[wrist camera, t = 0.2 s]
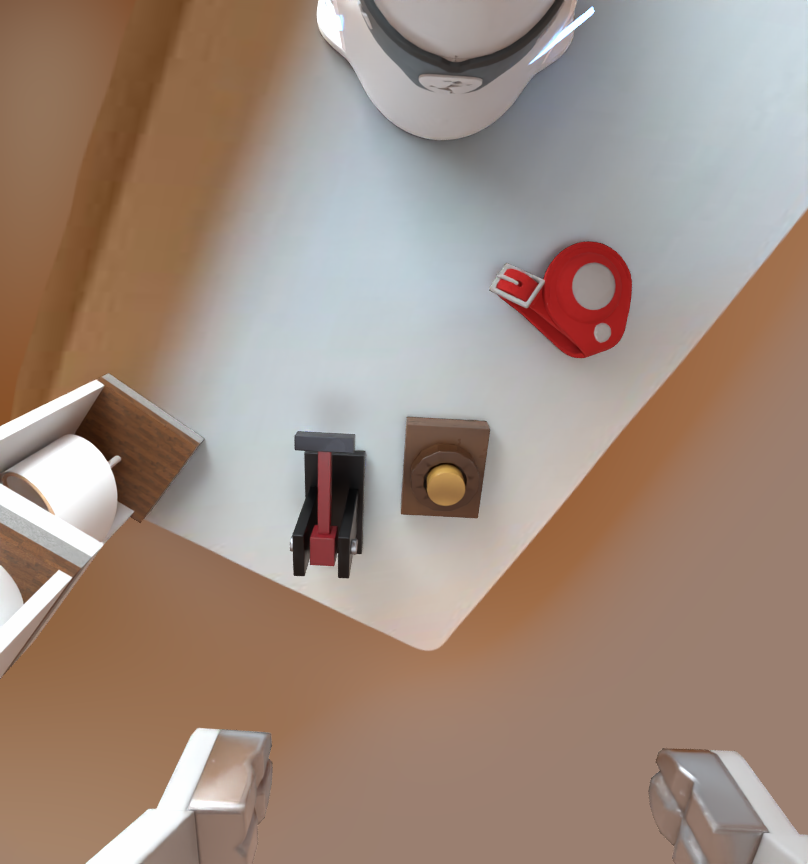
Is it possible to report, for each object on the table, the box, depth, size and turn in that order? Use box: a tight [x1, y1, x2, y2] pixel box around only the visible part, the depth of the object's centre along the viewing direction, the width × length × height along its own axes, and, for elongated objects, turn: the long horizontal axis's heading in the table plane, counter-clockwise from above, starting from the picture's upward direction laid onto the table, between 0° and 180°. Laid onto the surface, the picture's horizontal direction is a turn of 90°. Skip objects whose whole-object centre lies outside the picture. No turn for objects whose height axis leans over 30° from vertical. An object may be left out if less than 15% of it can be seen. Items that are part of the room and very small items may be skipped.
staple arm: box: [295, 431, 355, 566], centre depth 43 cm, size 12×5×2 cm, turn 177°
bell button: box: [426, 464, 465, 506], centre depth 46 cm, size 4×4×2 cm
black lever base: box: [290, 451, 365, 578], centre depth 47 cm, size 12×6×10 cm, turn 177°
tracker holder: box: [489, 241, 632, 358], centre depth 42 cm, size 12×4×10 cm
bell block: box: [401, 417, 490, 518], centre depth 48 cm, size 10×8×4 cm
